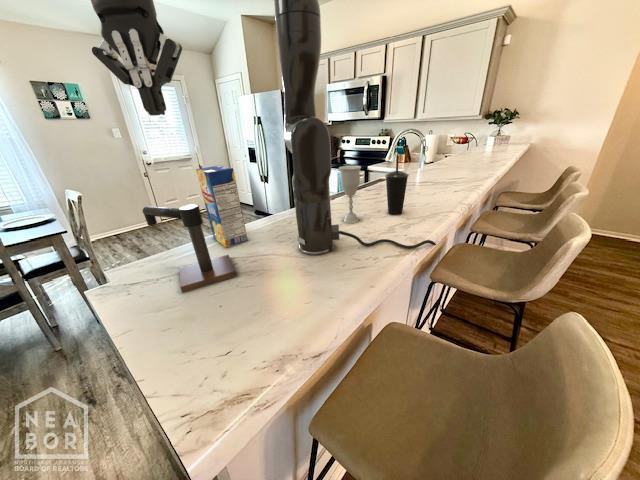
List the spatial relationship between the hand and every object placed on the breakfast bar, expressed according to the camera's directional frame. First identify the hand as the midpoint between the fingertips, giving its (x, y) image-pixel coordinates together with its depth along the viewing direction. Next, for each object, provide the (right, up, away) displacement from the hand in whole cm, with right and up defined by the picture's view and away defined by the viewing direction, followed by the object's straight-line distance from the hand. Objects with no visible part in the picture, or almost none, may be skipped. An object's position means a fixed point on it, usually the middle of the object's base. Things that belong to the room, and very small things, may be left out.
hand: (157, 115), depth 42 cm
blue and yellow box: (-2, -20, +41) cm, 46 cm away
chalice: (+37, -14, +49) cm, 63 cm away
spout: (-8, -17, +19) cm, 27 cm away
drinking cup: (+53, -11, +52) cm, 75 cm away
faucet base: (-1, -29, +22) cm, 36 cm away
